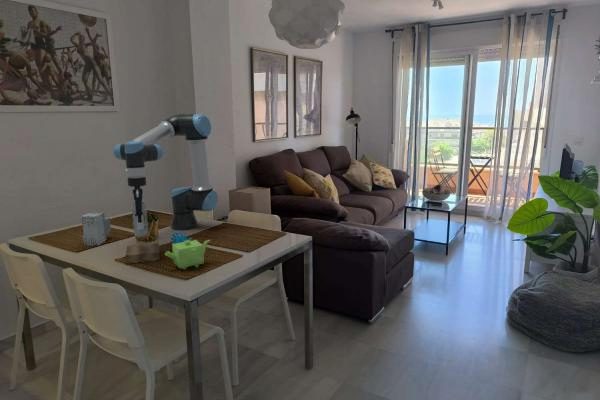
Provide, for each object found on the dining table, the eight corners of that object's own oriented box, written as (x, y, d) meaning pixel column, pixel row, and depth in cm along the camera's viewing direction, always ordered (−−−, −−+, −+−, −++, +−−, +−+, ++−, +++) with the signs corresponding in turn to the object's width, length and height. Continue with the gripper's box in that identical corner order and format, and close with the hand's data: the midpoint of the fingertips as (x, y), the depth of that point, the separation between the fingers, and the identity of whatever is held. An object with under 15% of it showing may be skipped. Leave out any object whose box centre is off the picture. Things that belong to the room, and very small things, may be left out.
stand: (159, 250, 196) (158, 242, 196) (160, 260, 184) (159, 251, 183) (127, 254, 192) (127, 246, 191) (126, 264, 179) (125, 255, 178)
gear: (176, 249, 193) (168, 232, 197) (171, 256, 196) (163, 239, 200) (196, 247, 202) (188, 230, 205) (190, 253, 205) (183, 237, 209)
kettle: (211, 261, 182) (210, 237, 180) (198, 273, 169) (197, 247, 166) (180, 259, 185) (179, 235, 183) (165, 270, 171) (163, 245, 169)
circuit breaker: (113, 237, 219) (110, 210, 216) (98, 245, 205) (94, 216, 202) (100, 237, 220) (97, 209, 217) (83, 245, 206) (80, 216, 203)
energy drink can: (145, 237, 182) (142, 204, 179) (132, 237, 183) (129, 204, 180) (150, 233, 188) (148, 202, 185) (137, 233, 189) (135, 201, 186)
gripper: (128, 174, 188) (132, 223, 192) (126, 180, 170) (131, 233, 175) (145, 173, 190) (149, 221, 195) (145, 179, 173) (149, 232, 177)
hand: (140, 227), depth 185 cm, fingers closed on energy drink can, 6 cm apart
